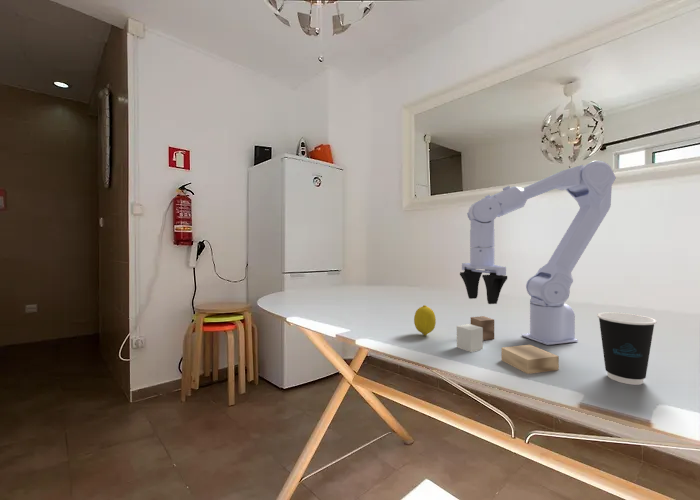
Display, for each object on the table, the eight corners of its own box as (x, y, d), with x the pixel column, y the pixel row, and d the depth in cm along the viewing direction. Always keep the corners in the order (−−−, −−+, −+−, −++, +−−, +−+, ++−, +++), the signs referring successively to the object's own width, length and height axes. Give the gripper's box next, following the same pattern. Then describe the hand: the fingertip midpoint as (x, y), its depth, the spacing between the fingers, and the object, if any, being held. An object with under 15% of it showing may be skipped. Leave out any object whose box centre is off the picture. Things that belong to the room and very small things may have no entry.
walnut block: (483, 335, 84) (483, 316, 84) (494, 339, 80) (494, 319, 80) (470, 336, 83) (470, 317, 83) (480, 340, 79) (480, 320, 79)
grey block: (468, 344, 76) (468, 323, 76) (482, 349, 73) (482, 327, 73) (456, 347, 74) (456, 326, 74) (470, 352, 71) (470, 330, 71)
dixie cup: (627, 369, 60) (627, 311, 60) (669, 388, 53) (670, 322, 52) (585, 370, 60) (586, 312, 60) (622, 389, 52) (622, 323, 52)
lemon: (436, 339, 81) (436, 307, 80) (414, 338, 82) (413, 307, 82) (435, 332, 86) (434, 303, 86) (414, 332, 87) (414, 302, 87)
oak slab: (529, 358, 68) (529, 344, 67) (558, 371, 61) (558, 356, 61) (501, 361, 66) (501, 347, 66) (527, 375, 59) (527, 359, 59)
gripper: (452, 247, 87) (452, 297, 87) (487, 248, 73) (488, 307, 73) (474, 247, 89) (474, 295, 89) (513, 247, 75) (513, 305, 75)
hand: (482, 300), depth 81 cm, fingers open, 7 cm apart
